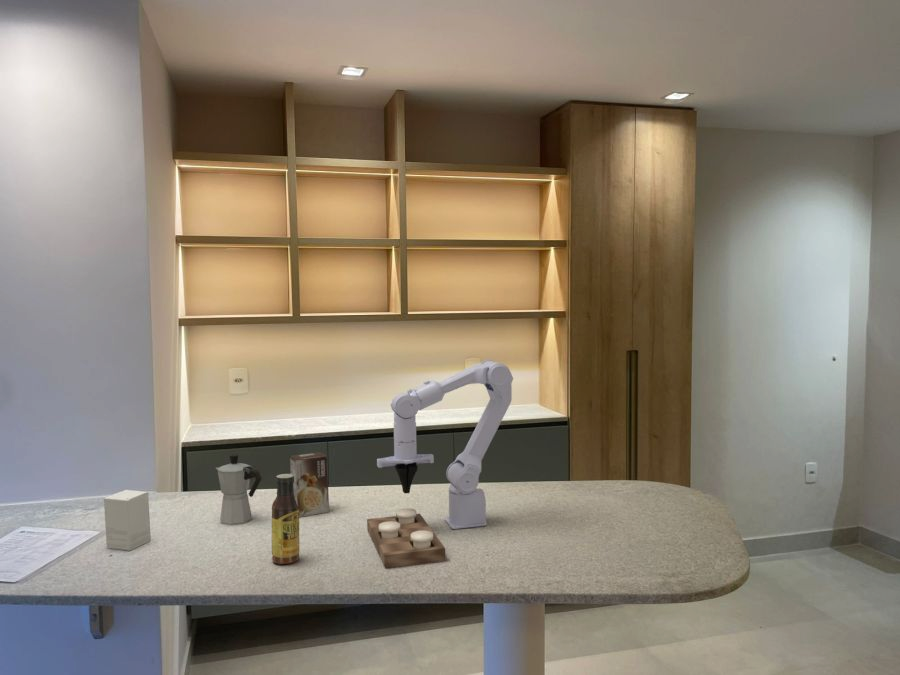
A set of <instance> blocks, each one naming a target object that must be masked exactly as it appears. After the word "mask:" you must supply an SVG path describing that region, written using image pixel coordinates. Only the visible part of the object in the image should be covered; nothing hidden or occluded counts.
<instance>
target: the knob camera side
mask: <svg viewBox="0 0 900 675" xmlns="http://www.w3.org/2000/svg"><path fill="white" fill-rule="evenodd" d="M432 540H433V533H432V532H430V531H415V532H413V533H411V541H413V549H420V548H429V547H431V541H432Z"/></svg>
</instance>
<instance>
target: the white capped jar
mask: <svg viewBox="0 0 900 675" xmlns="http://www.w3.org/2000/svg"><path fill="white" fill-rule="evenodd" d="M417 514H418V513H417V510H416V509H415V508H412V507H410V508H408V507H404V508H400V509H399V508H398V509H397V510H396V511H395V516H396V517H398V518H399V523H400V524H409V523H414V517H416V515H417Z"/></svg>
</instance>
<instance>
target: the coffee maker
mask: <svg viewBox="0 0 900 675" xmlns="http://www.w3.org/2000/svg"><path fill="white" fill-rule="evenodd" d="M229 460H230V463H228V464H225V465H221V466H219V467H215V469H216V470H217V475H218V481H219V486H220V492H221V493H222V501H221V503H222V504H221V508H220V510H221V511H220V517H219V518H220V519H219V522H220V524H222V525H228V526H236V525H243V524H246V523H249V522H250V521H253V516H252V511H251V506H250V505H251V504H250V501H249V497H250V498H252V497H253V496H254V494H255V492H256V490H257V488H258V487H259V484H260V483H261V480H263V479H262V478H263V477H262V476H261V474H260V471H259V470H258V469H255V467H253V466H251V465H249V464H246V463H241V462H238V461H239V454H237V453H234V454H230V455H229ZM253 478H255V480H254V482H253V485H252V486H251V488H250V481H251V479H253ZM249 489H250V490H249ZM248 490H249V492H248Z"/></svg>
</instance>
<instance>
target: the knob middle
mask: <svg viewBox="0 0 900 675" xmlns="http://www.w3.org/2000/svg"><path fill="white" fill-rule="evenodd" d="M399 530H400V523H398V522H393V521H388V522H383V523H380V524H379V531H380V532H381V539H387V538H396V537H398V531H399Z"/></svg>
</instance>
